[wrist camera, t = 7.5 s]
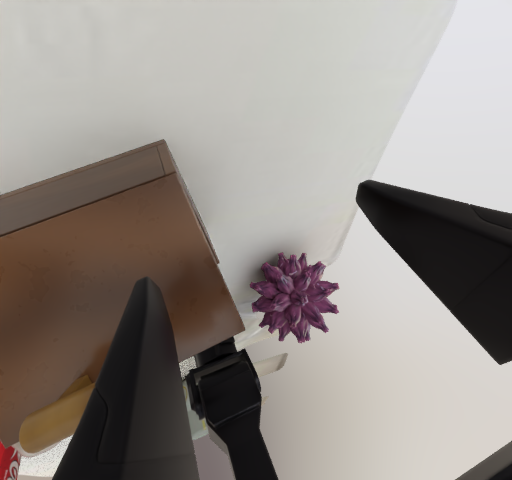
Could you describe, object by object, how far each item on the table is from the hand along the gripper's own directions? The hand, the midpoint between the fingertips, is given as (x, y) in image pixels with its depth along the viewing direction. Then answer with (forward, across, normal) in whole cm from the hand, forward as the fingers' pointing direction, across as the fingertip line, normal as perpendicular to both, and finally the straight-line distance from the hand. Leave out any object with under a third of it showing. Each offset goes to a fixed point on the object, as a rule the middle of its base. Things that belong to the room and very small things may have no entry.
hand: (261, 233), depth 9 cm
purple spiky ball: (+13, -4, +22) cm, 26 cm away
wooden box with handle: (+4, +10, +5) cm, 11 cm away
